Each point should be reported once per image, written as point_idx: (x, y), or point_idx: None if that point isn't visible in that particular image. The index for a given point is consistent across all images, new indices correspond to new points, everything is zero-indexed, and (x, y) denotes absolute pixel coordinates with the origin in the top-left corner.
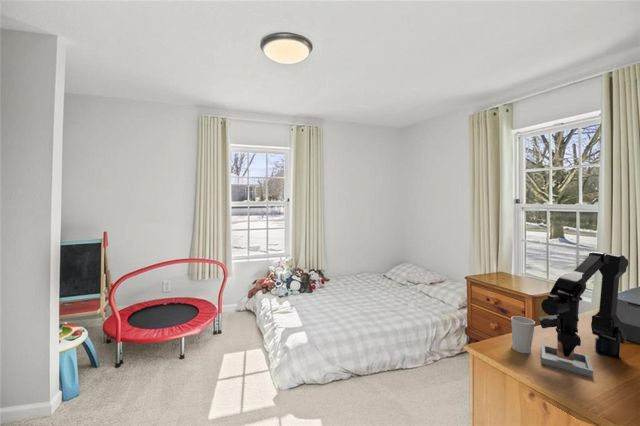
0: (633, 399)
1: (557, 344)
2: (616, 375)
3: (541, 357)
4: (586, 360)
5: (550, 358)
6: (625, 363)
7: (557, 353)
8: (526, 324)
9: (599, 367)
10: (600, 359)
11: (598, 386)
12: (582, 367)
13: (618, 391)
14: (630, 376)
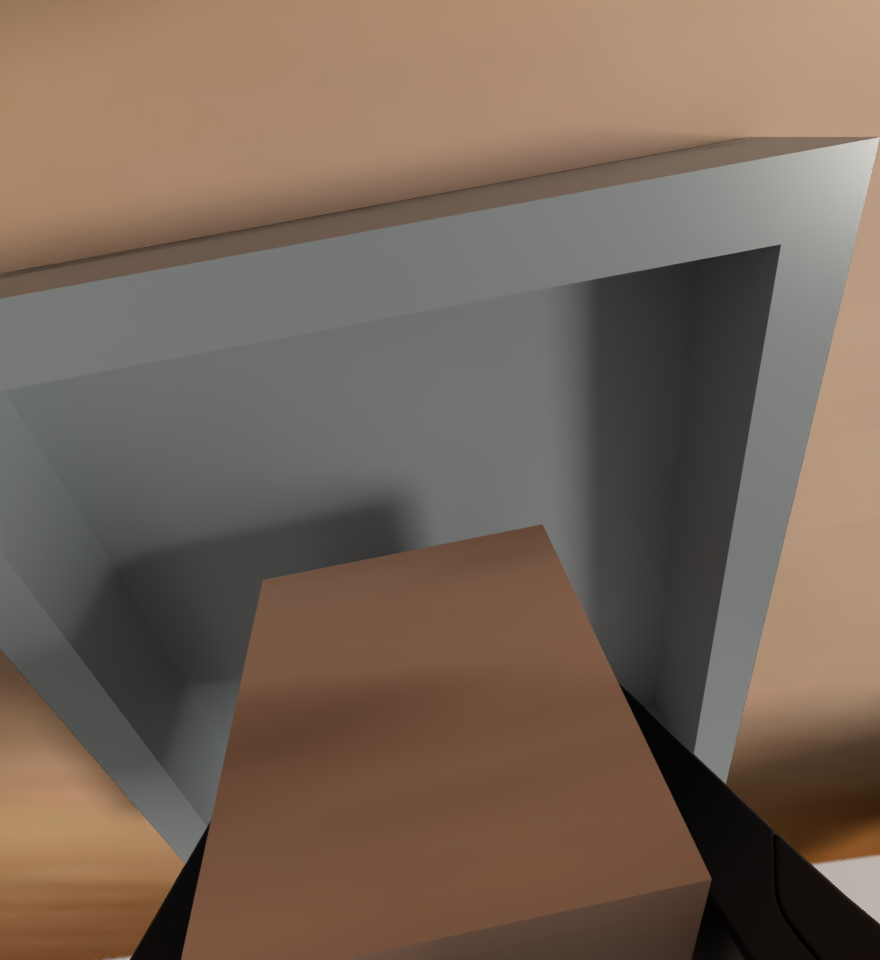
0: (115, 956)
1: (552, 718)
2: None
3: (234, 234)
4: None
5: (339, 401)
6: (841, 835)
7: (327, 606)
8: None
9: None
10: (833, 744)
11: (68, 842)
12: (190, 837)
13: (154, 908)
14: None
